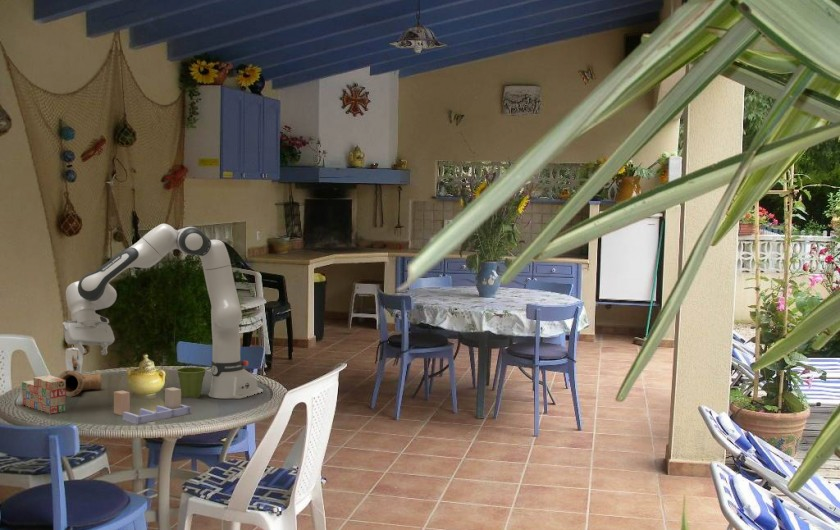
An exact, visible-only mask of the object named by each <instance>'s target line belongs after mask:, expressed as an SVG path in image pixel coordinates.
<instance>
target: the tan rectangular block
mask: <svg viewBox="0 0 840 530" xmlns="http://www.w3.org/2000/svg"><path fill="white" fill-rule="evenodd" d="M130 402H131V392H129V391H125V390H124V389H123V390H118V391H117V390H116V391H113V414H115V415H118V416H122V417H123V412H129V413H131V403H130Z"/></svg>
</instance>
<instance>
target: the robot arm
mask: <svg viewBox="0 0 840 530" xmlns="http://www.w3.org/2000/svg"><path fill="white" fill-rule="evenodd" d="M173 250H177V251H179V252H181V253H183V254H185V255H187V256H198V257H199V258H200V260H201V264H202V269H203V275H204V279H205V285H206V288H207V294H208V297H209V300H210V305H211V309H210V315H211V316H210V317H211V318H210V319H211V321H210V322H211V339H212V360H211V366H210V367H211V368H210V369H211V374H212V375H211V382H210V389H209V392H208V396H209V397H210V398H215V399H236V400H237V399H238V400H239V399H243V398H248V397H251V396H255V395H258V394H257V393H259V394H262V393H264V390H263V388H261V387H259V386H258V380H257V378H256V376H254V375H253V374H252V373H251V372H249V371H248V370H246V369H245V367H248V366H249V365H250V364H249V361H248V360H242V359H241V336H240V335H241V334H240V324H241V321H242V317H243V311H242V307H241V305H240V304H241V303H240V299H239V295H238V292H237V287H236V284H235V283H236V282H235V279H234V273H233V268H232V264H231V258H230V254H229V252H228V249H227V247H226V245H225V242H224V241H222V240H219V239H210V238H209V237H208V236H207V235H206V233H205V232H203V231H202V230H201V229H199V228H197V227H195V226H185V227H181V228H178V229H175V228H174V227H173V226H171V225H170V224H168V223H161V224H158V225H156V226H155V227H153V228H152V229H151V230H150V231H147V233H145V234H144V235H143V236H142V237H141V238H140V239H139V240H137V242H135V243H134V244H132V245H131V246H129V247H127V248H125V249H124V250H122V251H120V252H118V253H117V254H116V255H115V256H114V257H112V258H111V259H110V260H108V261H107V262H105V263H104V264H103V265H101V267H99V268H97V269H96V270H94V271H92V272H89V273H86V274H85V275H83V277H81V279H80V280H76V281H74V282H72V283H70V284H69V285H68V286H67V287H66V290H65V299H66V303H67V306H68V307H67V308H68V309H69V312H70V313H71V314H70V318H71V320H69V319H67V320H65V321H64V322H63V323H62V327H63V335H64V341H65V342H66V344H68V345H75V348H78V349H79V350H80V353H81V354H83V355H87V353H88V351H87V348H86V347H84V346H101V348H102V349H101V351H100V353H101V355H102V356H107V354H108V347H109V346H111V345H113V343H114V342H115V340H116V339H115V335H114V331H113V329H112V327H111V325H110V320H109V318H108V317H104V316H102V315H100V314H98V313H96V311H100V310H104V309H107V308H110V307H111V306H113V305H114V304H115V302H116V301H117V297H118V293H117V290H116V289H115V288H114V286H112V285H111V284H110V282H111V281H112V280H114V279H115V278H116V277H117V276H119V275H120V274H121V273H123V272H124V271H125V270H127V269H129V268H140V269H150V268H151V267H154V266H155V265H156V264H158V263H159V262H160V261H161V260H162V259H164V257H165V256H166V255H167V254H168V253H169V252H171V251H173ZM261 392H262V393H261ZM254 394H255V395H254ZM247 396H248V397H247Z"/></svg>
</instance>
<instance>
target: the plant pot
mask: <svg viewBox="0 0 840 530" xmlns="http://www.w3.org/2000/svg"><path fill="white" fill-rule="evenodd" d="M206 371H207V368H205V367H199V366H197V367H196V366H187V367H186V366H185V367H181V368H180V367H179V368H177V369H176V370H175V372H177V376H178V379H179V386H180V388H179V389H181V398H185V397H187V398H194V399H198V398H200V397H201V394H202V389H203V384H204V383H203V382H204V378H205V375H206Z"/></svg>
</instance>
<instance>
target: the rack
mask: <svg viewBox="0 0 840 530" xmlns="http://www.w3.org/2000/svg"><path fill="white" fill-rule="evenodd" d="M191 407H192V406H190V405H186V404H182V403H181V408H178V409H169V408H166V407H165V406H162V405H156V406H155V411H153V410H149V409H146V408H143V407H142V408H139V415H138V414H135V413H132V412H130V413H129V412H123V415H122V420H123V421H127V422H130V423H132V424H134V425H135V424H136V425H140V424H146V423H149V422H155V421H160V420H166V419H170V418H177V417H179V416H184V415H186V416H187V415H189V414H190V415H191V414H192V408H191Z"/></svg>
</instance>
